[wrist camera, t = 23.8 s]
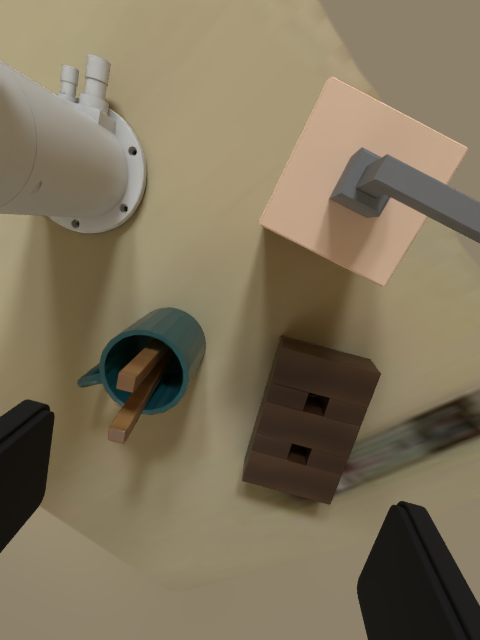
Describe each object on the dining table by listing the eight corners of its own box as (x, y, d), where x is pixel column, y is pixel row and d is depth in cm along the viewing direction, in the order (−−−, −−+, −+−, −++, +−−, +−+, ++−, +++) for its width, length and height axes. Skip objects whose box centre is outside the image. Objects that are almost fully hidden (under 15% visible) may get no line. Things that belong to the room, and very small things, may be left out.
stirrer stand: (281, 335, 40) (282, 347, 36) (370, 359, 40) (381, 373, 36) (244, 458, 44) (242, 481, 40) (325, 480, 44) (330, 505, 40)
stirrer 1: (165, 326, 40) (118, 372, 27) (178, 330, 40) (135, 377, 27) (163, 338, 40) (115, 388, 28) (175, 341, 40) (133, 393, 28)
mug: (193, 299, 40) (171, 319, 31) (214, 367, 41) (199, 404, 33) (97, 325, 41) (51, 351, 33) (121, 389, 43) (84, 429, 34)
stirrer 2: (160, 348, 40) (108, 427, 29) (173, 351, 40) (125, 431, 29) (159, 358, 41) (107, 440, 29) (171, 361, 41) (124, 444, 29)
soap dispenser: (262, 225, 37) (253, 223, 16) (302, 143, 35) (354, 10, 14) (372, 280, 38) (505, 350, 16) (418, 202, 35) (642, 165, 14)
